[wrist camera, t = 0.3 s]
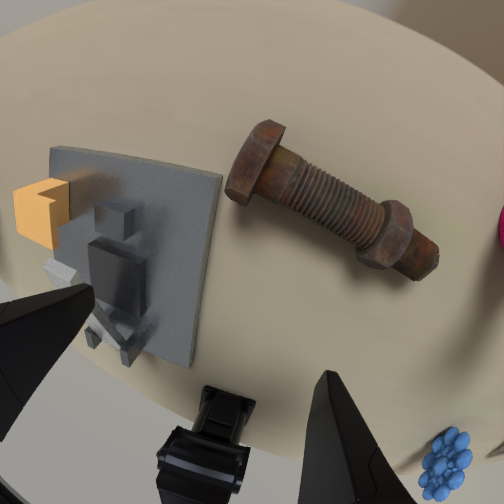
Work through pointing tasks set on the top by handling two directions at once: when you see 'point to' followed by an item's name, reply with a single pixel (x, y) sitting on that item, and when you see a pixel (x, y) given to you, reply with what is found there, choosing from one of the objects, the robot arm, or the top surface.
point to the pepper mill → (502, 228)
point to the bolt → (330, 204)
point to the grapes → (445, 465)
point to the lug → (42, 211)
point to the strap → (97, 318)
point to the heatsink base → (139, 245)
